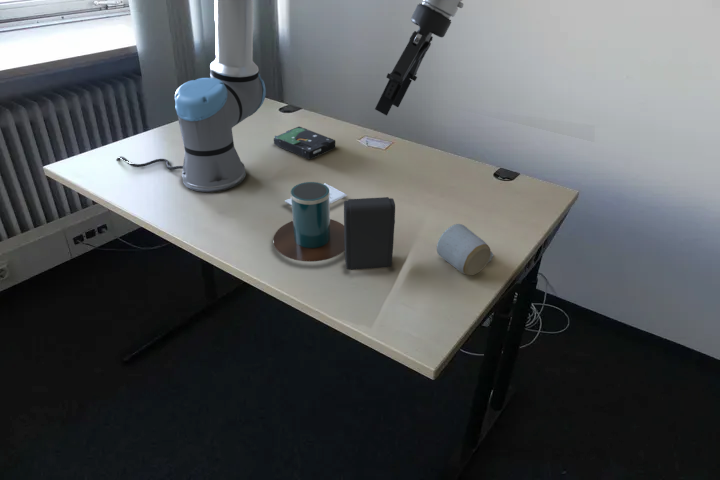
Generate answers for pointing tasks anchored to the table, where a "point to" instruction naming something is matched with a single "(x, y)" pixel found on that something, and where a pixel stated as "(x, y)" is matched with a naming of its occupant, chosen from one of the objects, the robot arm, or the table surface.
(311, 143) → the disk drive
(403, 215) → the table surface
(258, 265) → the table surface
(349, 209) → the card reader
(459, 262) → the ceramic mug
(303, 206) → the tumbler
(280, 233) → the plate
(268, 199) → the table surface
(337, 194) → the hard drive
